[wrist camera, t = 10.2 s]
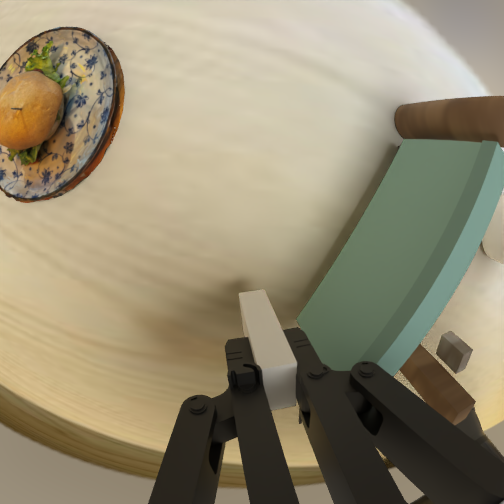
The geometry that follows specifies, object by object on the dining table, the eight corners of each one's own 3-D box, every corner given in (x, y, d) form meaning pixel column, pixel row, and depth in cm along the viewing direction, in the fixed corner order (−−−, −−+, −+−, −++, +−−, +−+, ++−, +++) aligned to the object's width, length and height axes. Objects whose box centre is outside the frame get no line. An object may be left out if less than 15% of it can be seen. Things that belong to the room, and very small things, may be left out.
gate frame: (414, 338, 24) (480, 407, 14) (378, 350, 23) (444, 432, 13) (433, 110, 17) (548, 110, 7) (393, 102, 16) (520, 89, 6)
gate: (402, 137, 16) (497, 141, 8) (418, 153, 16) (510, 165, 9) (293, 318, 19) (340, 404, 11) (313, 326, 19) (363, 408, 12)
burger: (60, 12, 11) (13, -29, 4) (164, 87, 14) (138, 43, 7) (-27, 144, 12) (-91, 151, 5) (56, 234, 16) (-6, 277, 9)
